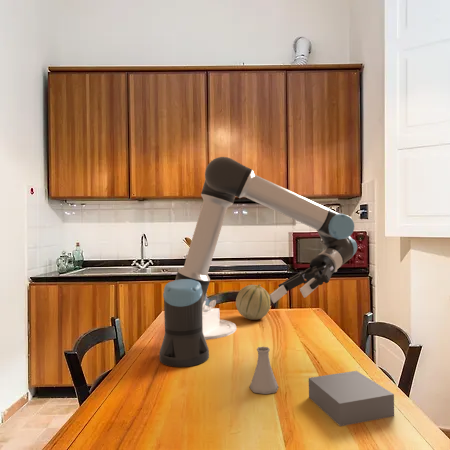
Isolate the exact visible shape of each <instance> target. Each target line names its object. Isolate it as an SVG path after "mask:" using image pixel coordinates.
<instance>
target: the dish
mask: <svg viewBox="0 0 450 450" xmlns="http://www.w3.org/2000/svg"><path fill="white" fill-rule="evenodd" d="M206 303H207V300H205V301H204V303H203V306H202V327H203V334H204V337H205V340H206V341H207V340H214V339H220V338H225V337H228V336H230V335H233V334H234V333H236V331H237V325H236V323H234V322H232V321H230V320H226V319H222V318H220V315H221V314H220V308H217V307H215V306H216V304H217V300H216V299H214V300H210V301H209V303H208V304H207V305H206Z"/></svg>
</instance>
